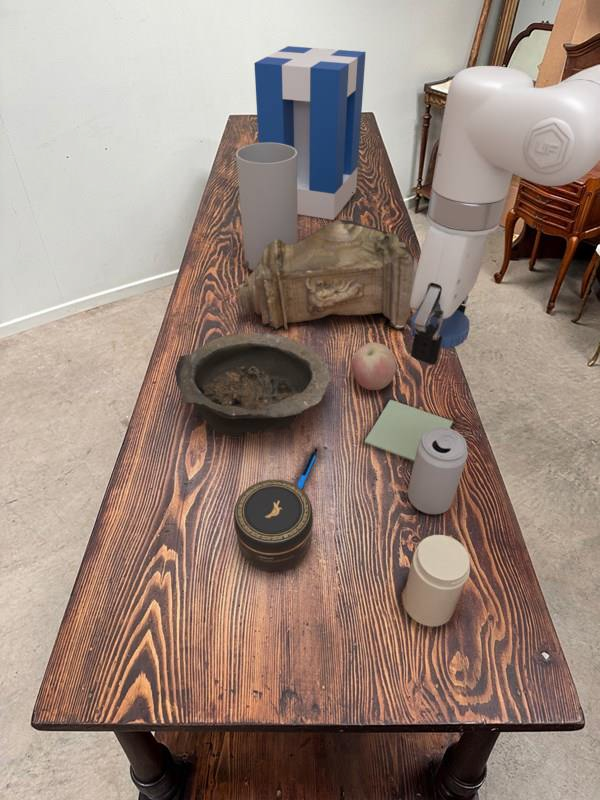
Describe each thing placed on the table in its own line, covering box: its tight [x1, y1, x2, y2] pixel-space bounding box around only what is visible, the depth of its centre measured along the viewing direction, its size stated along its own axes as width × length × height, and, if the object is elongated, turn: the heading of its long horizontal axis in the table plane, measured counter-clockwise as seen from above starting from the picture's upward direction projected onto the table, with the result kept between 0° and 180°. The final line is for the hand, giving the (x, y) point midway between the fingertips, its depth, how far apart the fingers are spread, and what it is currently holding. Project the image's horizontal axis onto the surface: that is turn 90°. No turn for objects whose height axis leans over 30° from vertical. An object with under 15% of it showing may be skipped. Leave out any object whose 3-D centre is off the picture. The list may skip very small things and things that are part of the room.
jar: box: [233, 479, 314, 573], centre depth 69 cm, size 10×10×8 cm
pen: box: [296, 448, 318, 490], centre depth 77 cm, size 1×19×1 cm, turn 160°
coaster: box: [363, 399, 454, 462], centre depth 87 cm, size 11×11×1 cm
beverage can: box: [407, 427, 469, 515], centre depth 73 cm, size 6×6×12 cm
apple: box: [351, 341, 397, 391], centre depth 93 cm, size 8×8×8 cm
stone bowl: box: [174, 332, 331, 439], centre depth 89 cm, size 25×25×9 cm
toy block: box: [253, 45, 367, 221], centre depth 142 cm, size 21×21×35 cm
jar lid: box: [409, 305, 470, 349], centre depth 66 cm, size 7×7×2 cm
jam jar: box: [402, 534, 471, 628], centre depth 62 cm, size 6×6×10 cm
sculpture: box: [235, 219, 418, 331], centre depth 107 cm, size 18×20×35 cm
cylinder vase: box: [235, 142, 299, 272], centre depth 119 cm, size 12×12×25 cm
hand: (435, 343), depth 68 cm, fingers closed on jar lid, 6 cm apart
